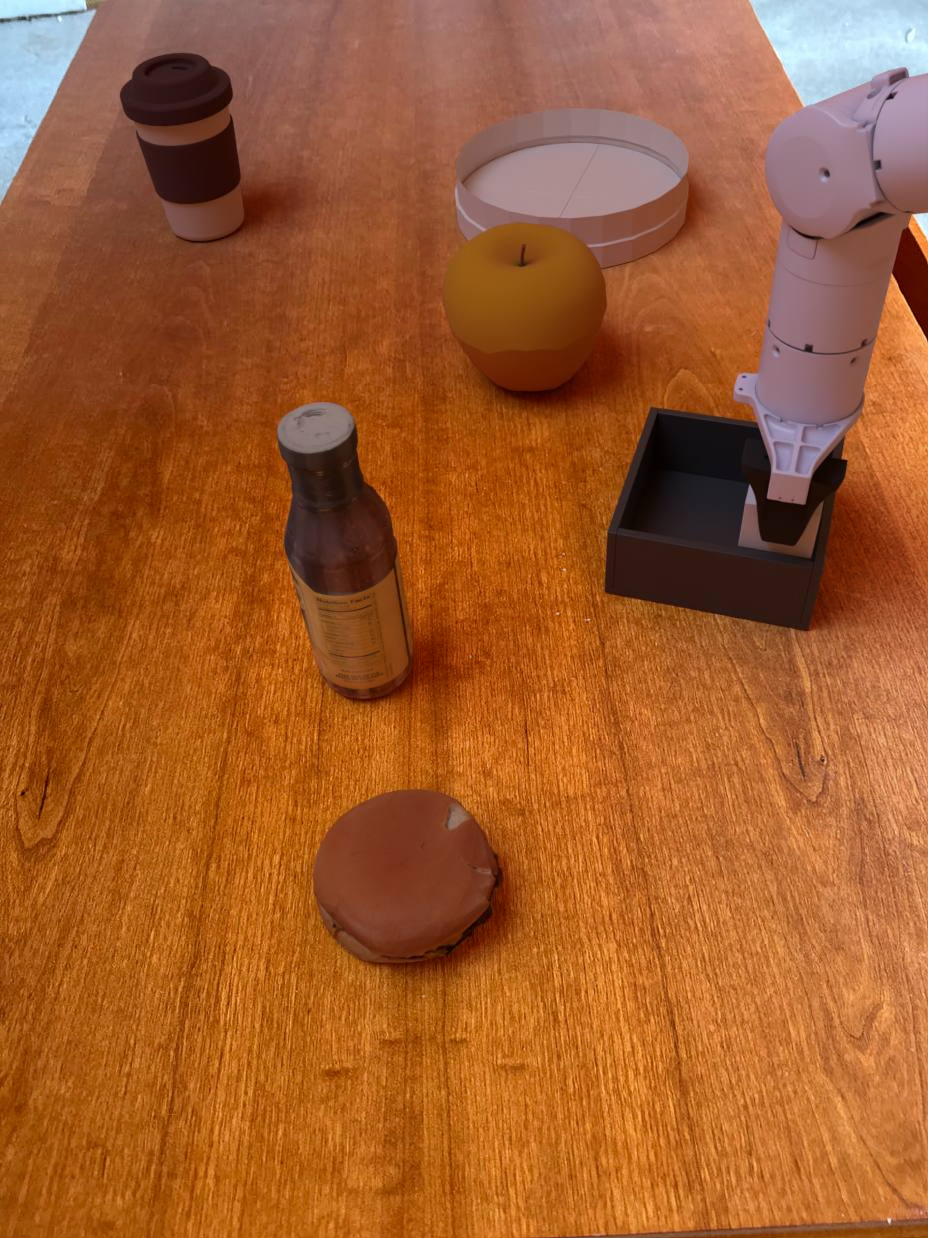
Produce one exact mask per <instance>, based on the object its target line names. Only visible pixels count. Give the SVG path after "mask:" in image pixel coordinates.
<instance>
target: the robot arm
mask: <svg viewBox="0 0 928 1238" xmlns="http://www.w3.org/2000/svg"><path fill="white" fill-rule="evenodd" d="M764 175H765V182H766V187H767V190H768V193H769V196H770V198H771V201H772V204H773V205H774V207H775V209H776V211H777V213H778V214H779V215H780V216H781V224H780V230H779V236H778V243H777V249H776V257H775V264H774V269H773V276H772V282H771V288H770V293H769V294H770V295H769V300H768V307H767V313H766V319H765V320H766V321H765V326H764V332H763V339H762V345H761V351H760V352H761V353H760V359H759V365H758V366H759V367H758V370H757V371H758V372H757V373H752V372H751V373H750V372H742V373H740V374H738V375H737V376H736V379H735V383H734V387H733V392H732V398H733V401H735V402H736V403H739V404H744V405H748V406H750V407H751V408H752V411H753V415H754V417H755V420H756V422H757V423H758V426H759V429H760V432H761V435H762V438H763V441H762V440H755V439H749V438H747V439H746V443H745V447H744V451H743V455H742V461H741V465H742V471H743V475H744V476H745V478H746V479H747V480H748V482H749V484H750V486H751V488H752V490H753V493H754V495H755V499H756V505H757V516H758V526H759V533H760V537H761V540H762V541H765V542H771V543H776V544H782V545H788V546H795V545H796V544H797V542H798V541H799V539H800V538H801V536H802V534H803V533H804V531H805V529H806V527H807V525H808V523H809V521H810V519H811V517H812V515H813V513H814V512H815V510H816V509H817V507H818V506H819V505H820V504H821V503H822V502H823V500H824V499H826V498H827V497H828V496H829V495H830V494H832V493H833V492H835V491H836V492H837V491H838V490H839V488H840V487H841V486H842V484H843V482H844V480H845V478H846V475H847V467H848V461H849V460H848V459H843V458H842V459H838V458H832V457H827V456H828V454H829V453H830V452H831V451H832V450H833V449H834V447H835V446H836V445H837V444H838V443H839V442H840V440H841V439H842V438H843V437H844V436H845V437H846V435H847V434H848V433H849V431H851V429H852V428H853V427H854V425H856V423H857V422H858V420H859V419H860V418H861V416H862V414H863V411H864V406H865V401H866V394H865V387H866V381H867V377H868V374H869V370H870V365H871V361H872V357H873V352H874V348H875V345H876V341H877V336H878V333H879V328H880V323H881V319H882V315H883V312H884V307H885V304H886V303H885V302H886V299H887V294H888V291H889V287H890V283H891V278H892V273H893V270H894V266H895V262H896V259H897V254H898V249H899V245H900V242H901V237H902V233H903V230H905V229H907V228H909V227H910V222H911V219H912V216H913V215H920V214H921V215H922V214H928V72H927V73H921V74H917V75H914V76H910V73H909V70H908V68H907V67H906V66H902V67H901V66H900V67H896V68H893V69H889V70H886V71H884V72H882V73H879V74H876V75H875V76H873V77H872V78H871V80H869V81H867V82H863V83H861V84H859V85H857V86H855V87H852V88H850V89H847V90H844V91H842V92H840V93H837V94H835V95H833V96H830V97H828V98H826V99H823V100H820V101H818V102H816V103H813V104H808V105H806V106H804V107H803V108H801V109H799V110H798V111H796V112H795V113H793V114H791V115H789V116H787V117H785V118H784V119H783V120H782V121H781V122H780V123H779V124H777V126H776V127H775V129H774V130H773V132H772V134H771V136H770V138H769V140H768V143H767V147H766V150H765V156H764Z"/></svg>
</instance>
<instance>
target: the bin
mask: <svg viewBox="0 0 928 1238" xmlns="http://www.w3.org/2000/svg"><path fill="white" fill-rule="evenodd" d="M747 438H749V439H755V440H762V441H763V438H762V435H761V432H760V429H759V426H758V423H757V421H751V420H744V419H739V418H738V419H737V418H732V417H724V416H718V415H710V414H704V413H697V412H691V411H684V410H676V409H670V408H664V407H657V406H656V407H655V406H651V407H649V411H648V414H647V417H646V420H645V423H644V425H643V428H642V430H641V434H640V436H639V440H638V443H637V445H636V448H635V451H634V454H633V457H632V460H631V462H630V466H629V469H628V471H627V474H626V477H625V480H624V483H623V486H622V488H621V492H620V493H619V497H618V500H617V503H616V505H615V508H614V512H613V515H612V518H611V520H610V523H609V525H608V529H607V532H606V549H605V550H606V551H605V572H604V573H605V574H604V593H606V594H613V595H617V596H622V597H629V598H633V599H638V600H642V601H643V600H644V601H648V602H654V603H659V604H665V605H669V606H675V607H679V608H685V609H691V610H695V611H700V612H706V613H712V614H715V615H722V616H726V617H727V616H728V617H733V618H738V619H742V620H743V619H744V620H748V621H753V622H757V623H758V622H759V623H764V624H768V625H775V626H779V627H786V628H790V629H796V630H801V631H805V632H808V631H809V629H810V626H811V621H812V617H813V613H814V610H815V605H816V602H817V597H818V594H819V589H820V586H821V585H820V584H821V582H822V577H823V573H824V569H825V568H824V567H825V562H826V556H827V550H828V544H829V537H830V532H831V527H832V526H831V525H832V520H833V513H834V507H835V502H836V501H835V500H836V496H837V490H836V491H835V492H833V493H832V494H830V495H829V496H828V497H827V498H826V499H824V501H823V506H822V512H821V517H820V522H819V526H818V530H817V535H816V539H815V543H814V548H813V552H812V556H811V558H804V557H799V556H793V555H787V554H781V553H776V552H770V551H764V550H758V549H753V548H747V547H741V546H738V543H739V537H740V531H741V525H742V519H743V513H744V507H745V501H746V497H747V493H748V489H749V485H750V484H749V482H748V480H747V479H746V478H745V476H744V475H743V471H742V465H741V461H742V455H743V451H744V447H745V443H746V439H747ZM845 440H846V435H845V436H844V437H843V438H842V439H841V440H840V442H839V443H838V444H837V445H836V446H835V447H834V449H833V450H832V451H831V452H830V453H829V454H828V456H827V457H832V458H838V459H843V454H844V446H845Z"/></svg>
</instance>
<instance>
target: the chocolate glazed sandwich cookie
mask: <svg viewBox="0 0 928 1238" xmlns="http://www.w3.org/2000/svg"><path fill="white" fill-rule="evenodd" d="M503 882H504V871H503V868H502V867H501V866H500V860H499V856H498V854H497V852H496V851H495V850H494V848H493V847H492V846H491V845H490V843H489V840H488V838H487V835H486V833H485V831H484V830H483V829H482V827H481V825H480V824H479V823H478V821H477V820H476V818H475V817H474V815H473V814H472V813H471V811H469V810H468V809H466V807H465V806H464V804H462V802H460V800H459V799H457V798H455V797H453V796H450V795H449V794H446V793H443V792H441V791H437V790H430V789H423V788H412V789H411V788H410V789H399V790H392V791H388V792H387V791H386V792H384V793H380V794H379V793H378V794H377V795H376V796H375V795H374V796H373V797H371V798H369V799H366V800H364V801H361V802H360V803H358V804H356V805H354V806H353V807H352V808H350V809H349V810H347V811H346V812H345V813H343V814H342V815H340V816H339V817H338V819H337V820H335V821H334V823H332V825H331V826H330V828H329V829H328V830H327V831H326V832H325V834H324V836H323V839H322V841H321V844H320V845H319V847H318V849H317V852H316V856H315V860H314V865H313V871H312V884H313V894H314V896H315V902H316V906H317V909H318V913H319V917H320V918H321V920H322V922H323V924H324V926H325V928H326V930H327V931H328V932H329V934H330V935H331V937H332V938H333V939H334V940H335V942H337V943H338V944H339V945H340V946H341V947H343V948H344V949H345V950H346V951H348V952H349V953H350V954H351V955H352V956H354V957H355V958H357V959H359V960H361V961H365V962H369V963H381V964H382V963H383V964H401V963H404V964H405V963H415V962H422V961H427V960H430V959H435V958H441V957H446V956H449V954H451V953H452V952H453V951H454V950H455V949H456V948H457V947H459V946H460V945H461V944H462V943H463V942H464V941H465V940H466V939H467V938H469V937H472V935H473V934H474V931H475V930H477V928H479V927H480V926H482V925H484V924H486V922H487V921H488V920H489V919H490V918H491V917H492V916H493V914H494V910H493V906H492V899H493V895H494V891H495V889H496V890H497V891H499V890H500V889H501V888H502V886H503Z"/></svg>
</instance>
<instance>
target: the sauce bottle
mask: <svg viewBox="0 0 928 1238" xmlns="http://www.w3.org/2000/svg"><path fill="white" fill-rule="evenodd" d="M276 439H277V445H278V449H279V453H280V456H281V458H282V459H283V461H284V462H285V464H286V466H287V470H288V474H289V478H290V482H291V484H290V488H291V495H292V497H291V502H290V506H289V511H288V515H287V519H286V525H285V529H284V534H283V549H284V552H285V556H286V560H287V563H288V567H289V570H290V574H291V579H292V582H293V585H294V589H295V592H296V597H297V600H298V604H299V609H300V612H301V614H302V618H303V621H304V626H305V629H306V634H307V635H308V636H307V637H308V640H309V643H310V647H311V651H312V654H313V659H314V662H315V665H316V668H317V669H318V671H319V672H320V676H321V679H324V681H325V683H327V684H328V686H329V687H330V688H331V689H332V690H334V691H335V692H337V693H339V694H340V695H341V696H344V697H346V698H350V699H354V700H355V699H356V700H368V699H376V698H380V697H385V696H388V695H390V693H392V692H394V691H395V690H396V689H398V688H399V687H400V686H401V685H402V684H403V682H405V680H406V679H407V677H408V676H409V675H410V673H411V672H412V670H413V665H414V655H413V654H414V652H413V651H414V637H413V631H412V630H413V629H412V624H411V619H410V618H411V617H410V612H409V606H408V600H407V595H406V594H407V593H406V588H405V582H404V576H403V571H402V564H401V559H400V553H399V547H398V542H397V538H396V536H395V533H394V528H393V520H392V516H391V513H390V511H389V510H390V509H389V508H388V505H387V504H386V502H385V500H383V498H382V497H381V495H380V494H379V493H378V491H377V490H376V489H375V487H374V486H373V485H371V484H368V483H367V482H365V478H364V474H363V471H362V470H361V467H360V466H361V465H360V460H359V452H358V449H357V448H358V444H359V434H358V428H357V425H356V421H355V418H354V416H353V415H352V413H351V412H350V411H349V410H348V409H347V408H345V407H344V406H342V405H340V404H337V403H333V402H329V401H327V402H326V401H319V402H311V403H307V404H303V405H300V406H299V407H297V408H295V409H294V410H291V411H289V412H287V414H285V415H284V416H283V417H282V418H281V419H280V421H279V423H278V425H277V427H276Z"/></svg>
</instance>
